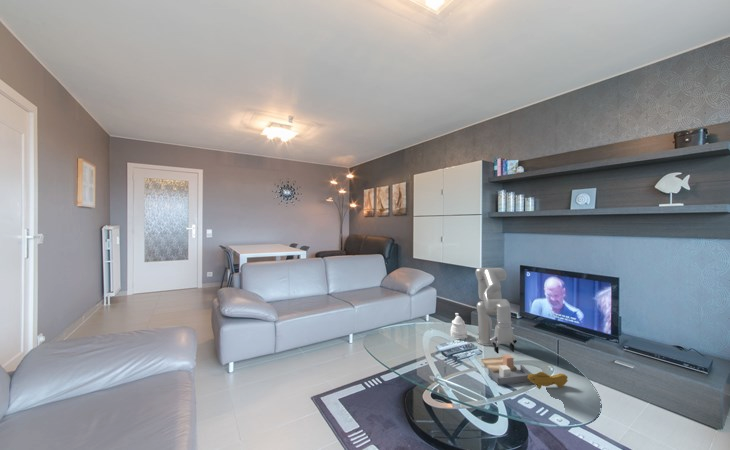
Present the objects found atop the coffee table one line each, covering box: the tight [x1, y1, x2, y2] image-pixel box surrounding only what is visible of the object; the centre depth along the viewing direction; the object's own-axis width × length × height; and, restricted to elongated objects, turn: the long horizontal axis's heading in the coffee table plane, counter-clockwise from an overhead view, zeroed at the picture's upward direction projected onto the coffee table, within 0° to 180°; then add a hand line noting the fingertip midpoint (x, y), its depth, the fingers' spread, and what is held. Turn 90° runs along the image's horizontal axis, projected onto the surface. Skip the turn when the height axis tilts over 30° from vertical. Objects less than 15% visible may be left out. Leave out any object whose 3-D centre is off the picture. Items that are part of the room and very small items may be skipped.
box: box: [487, 364, 533, 386], centre depth 176 cm, size 11×22×4 cm, turn 96°
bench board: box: [480, 356, 518, 373], centre depth 189 cm, size 14×16×2 cm
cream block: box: [499, 365, 511, 377], centre depth 176 cm, size 4×4×6 cm
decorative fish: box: [528, 371, 569, 390], centre depth 166 cm, size 22×3×10 cm, turn 93°
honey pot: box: [450, 312, 468, 340], centre depth 235 cm, size 13×13×18 cm
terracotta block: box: [502, 354, 515, 367], centre depth 186 cm, size 4×4×6 cm
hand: (504, 351), depth 176 cm, fingers open, 9 cm apart
